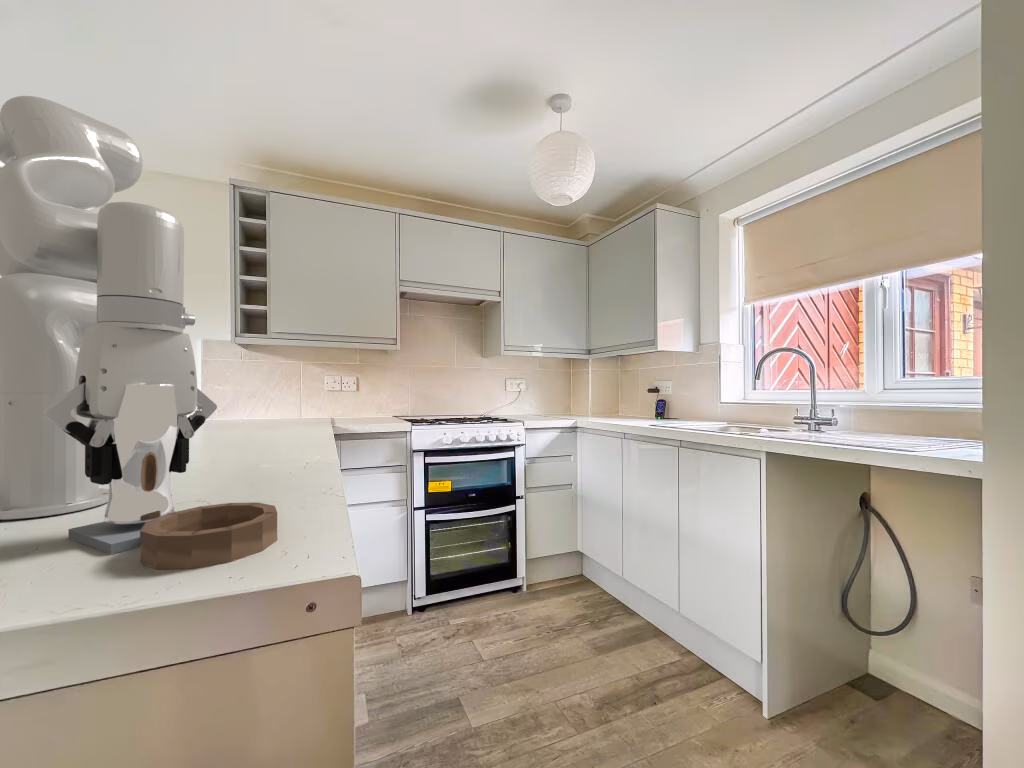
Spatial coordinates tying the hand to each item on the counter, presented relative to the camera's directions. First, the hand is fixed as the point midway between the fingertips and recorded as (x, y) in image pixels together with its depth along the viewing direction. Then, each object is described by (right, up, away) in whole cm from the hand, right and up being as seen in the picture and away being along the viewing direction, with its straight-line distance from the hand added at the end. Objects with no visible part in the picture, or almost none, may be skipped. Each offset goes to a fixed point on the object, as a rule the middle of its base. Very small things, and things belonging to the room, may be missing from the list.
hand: (140, 475), depth 50 cm
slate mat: (0, -7, 0) cm, 7 cm away
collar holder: (+11, -7, -4) cm, 13 cm away
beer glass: (0, -5, 0) cm, 5 cm away
